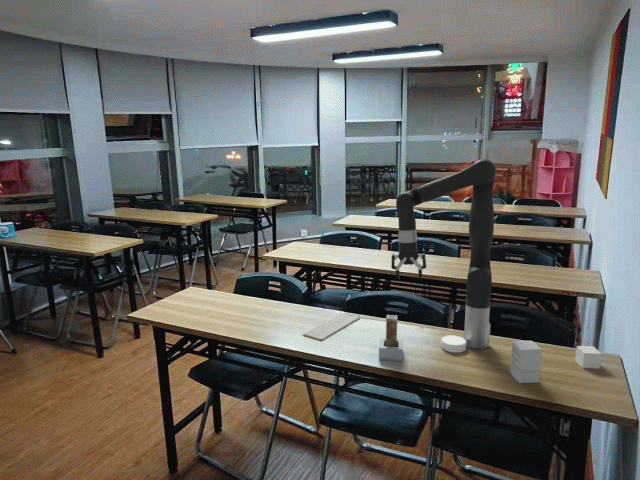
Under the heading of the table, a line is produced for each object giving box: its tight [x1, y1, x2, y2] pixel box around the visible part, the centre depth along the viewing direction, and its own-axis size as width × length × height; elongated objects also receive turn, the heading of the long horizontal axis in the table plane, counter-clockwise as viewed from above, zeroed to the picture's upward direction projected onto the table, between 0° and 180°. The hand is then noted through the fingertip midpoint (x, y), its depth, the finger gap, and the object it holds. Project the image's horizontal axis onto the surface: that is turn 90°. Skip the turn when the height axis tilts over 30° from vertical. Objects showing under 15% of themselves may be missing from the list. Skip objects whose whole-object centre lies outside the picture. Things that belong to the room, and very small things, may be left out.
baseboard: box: [302, 311, 361, 342], centre depth 211 cm, size 31×3×12 cm
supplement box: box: [509, 340, 543, 384], centre depth 161 cm, size 7×7×13 cm
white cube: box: [574, 345, 602, 369], centre depth 171 cm, size 6×6×6 cm
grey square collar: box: [378, 337, 404, 362], centre depth 181 cm, size 9×9×5 cm
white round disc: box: [440, 334, 467, 354], centre depth 187 cm, size 10×10×4 cm
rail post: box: [385, 314, 399, 347], centre depth 180 cm, size 4×4×15 cm
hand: (409, 278), depth 193 cm, fingers open, 8 cm apart
